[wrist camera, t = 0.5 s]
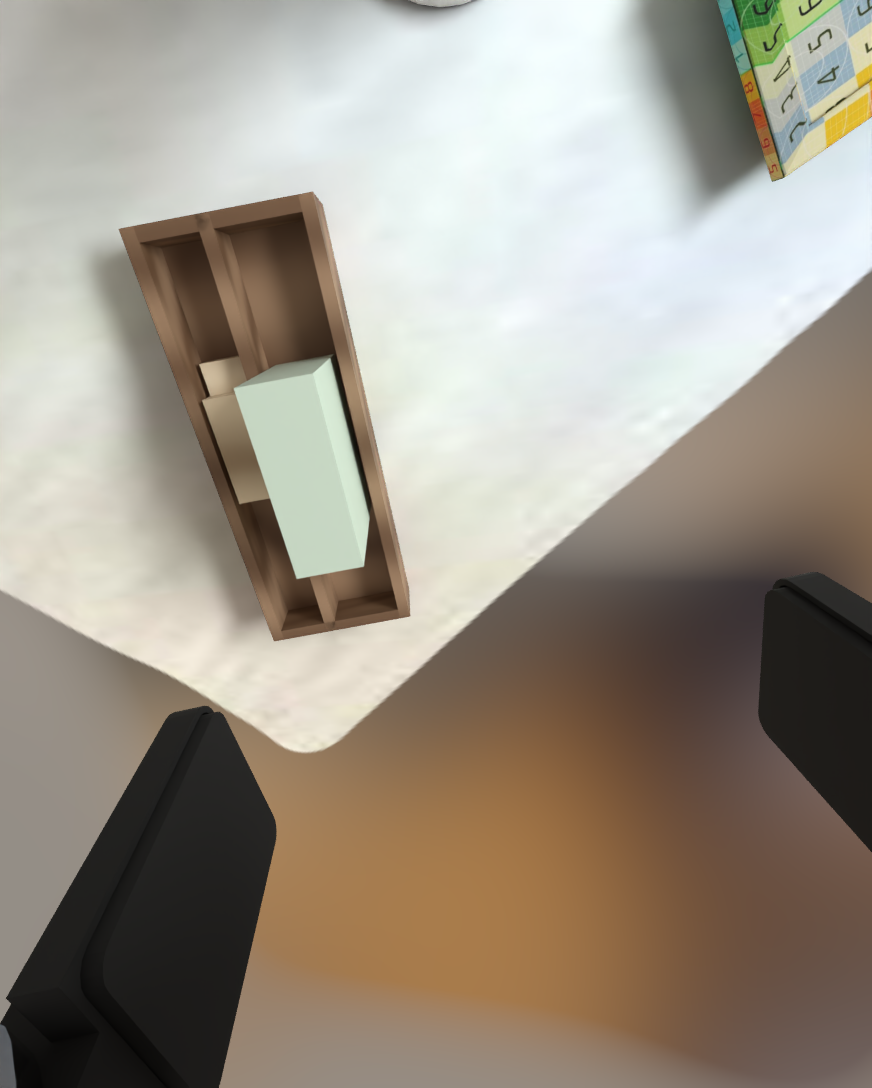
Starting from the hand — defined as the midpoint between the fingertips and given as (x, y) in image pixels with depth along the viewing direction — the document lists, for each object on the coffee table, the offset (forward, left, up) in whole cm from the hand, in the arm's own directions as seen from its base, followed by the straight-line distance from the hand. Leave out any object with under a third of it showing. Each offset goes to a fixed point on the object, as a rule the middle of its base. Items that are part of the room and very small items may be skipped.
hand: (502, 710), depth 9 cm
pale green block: (+1, -7, -30) cm, 31 cm away
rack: (+1, -9, -32) cm, 33 cm away
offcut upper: (0, -12, -29) cm, 31 cm away
